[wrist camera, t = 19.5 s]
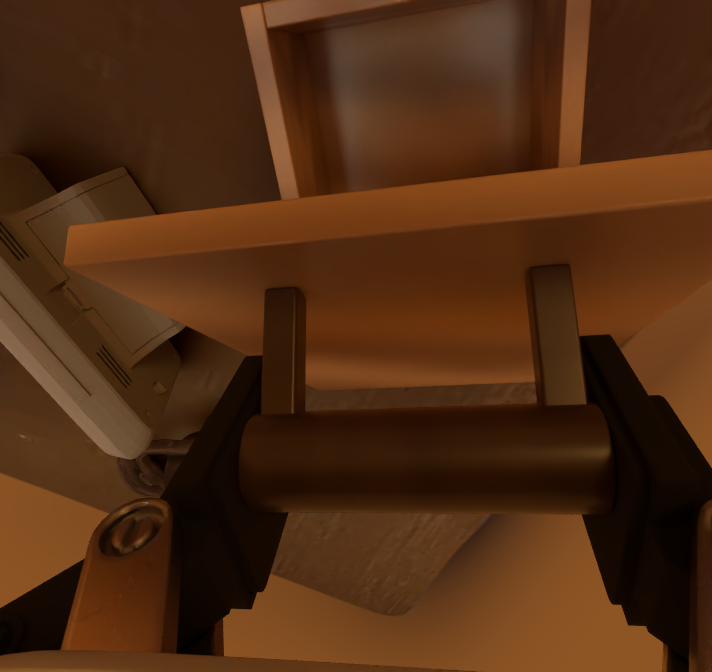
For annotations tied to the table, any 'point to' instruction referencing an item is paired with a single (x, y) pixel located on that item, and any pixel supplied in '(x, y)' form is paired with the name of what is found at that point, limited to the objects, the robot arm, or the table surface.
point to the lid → (425, 324)
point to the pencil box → (417, 89)
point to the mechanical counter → (154, 466)
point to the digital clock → (81, 309)
